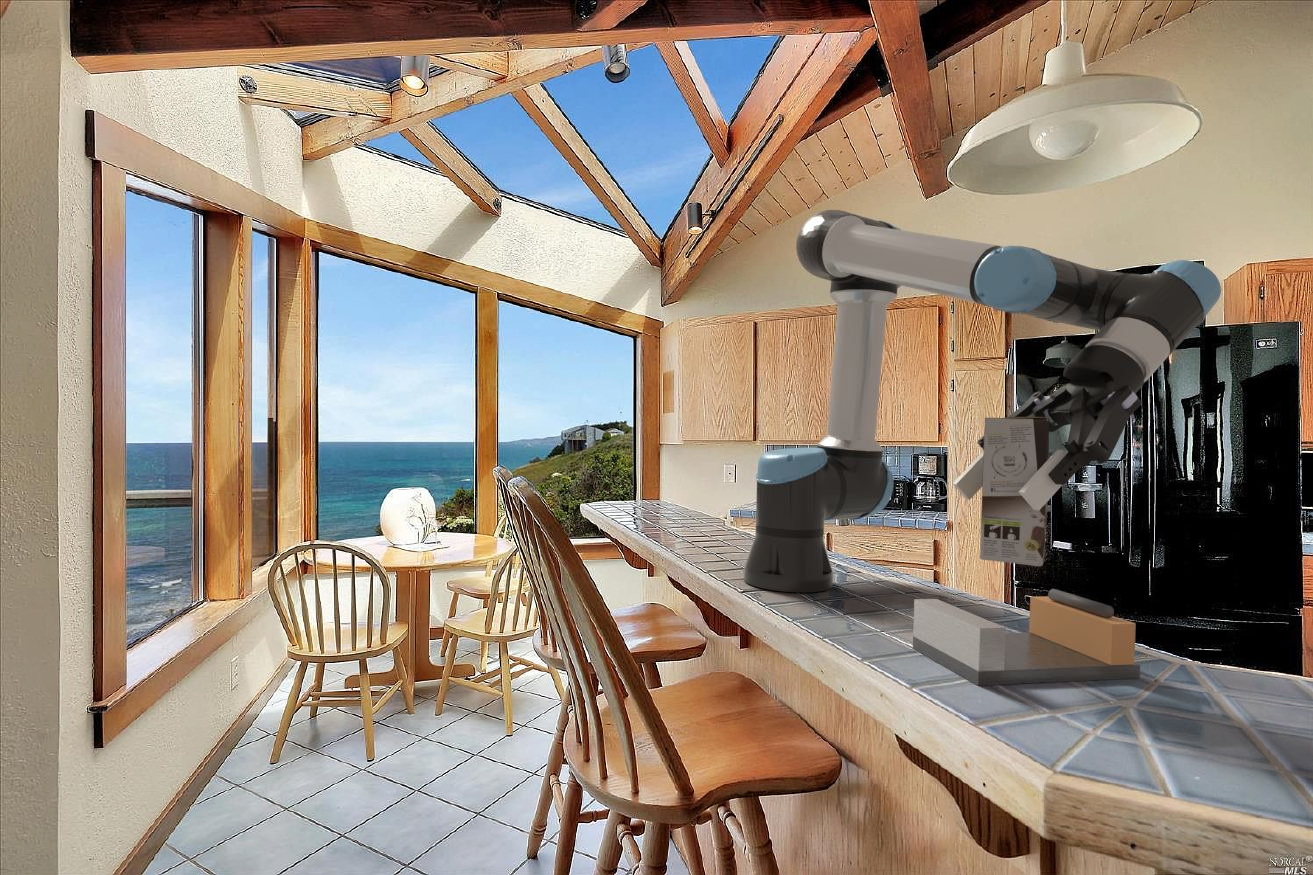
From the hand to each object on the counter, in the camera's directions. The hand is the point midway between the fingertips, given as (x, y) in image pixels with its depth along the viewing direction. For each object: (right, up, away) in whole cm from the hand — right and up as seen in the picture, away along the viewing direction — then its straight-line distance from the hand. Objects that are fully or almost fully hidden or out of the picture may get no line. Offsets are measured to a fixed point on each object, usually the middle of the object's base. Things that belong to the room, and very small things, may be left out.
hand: (992, 496), depth 75 cm
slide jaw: (+12, -18, +3) cm, 22 cm away
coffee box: (+3, -7, +1) cm, 8 cm away
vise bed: (+4, -19, +1) cm, 20 cm away
